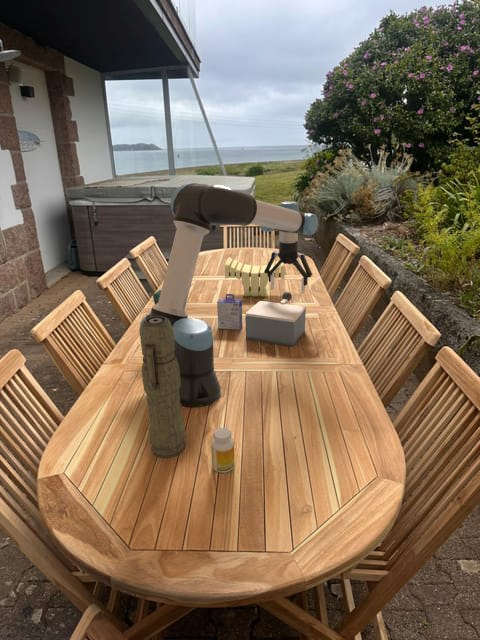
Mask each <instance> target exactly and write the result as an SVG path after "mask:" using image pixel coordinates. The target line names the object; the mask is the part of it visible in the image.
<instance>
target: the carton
mask: <svg viewBox="0 0 480 640" xmlns="http://www.w3.org/2000/svg"><path fill="white" fill-rule="evenodd" d="M306 312H307V309H305V310H304V312H303V313H302V314H301V315H300V316H299V318H298V319H297V320H296V321H295V322H287V321H280V320H273V319H266V318H259V317H252V316H245V317H244V318H245V340H250V341H256V342H262V343H267V344H268V343H269V344H273V345H275V344H276V345H279V346H280V345H281V346H287V347H291V348H292V347H293V348H294V347H295V345H296V344H297V343H298V341H299V340H300V339H301V337H303V335H304V333H305V332H306V314H307V313H306Z"/></svg>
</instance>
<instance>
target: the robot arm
mask: <svg viewBox="0 0 480 640" xmlns="http://www.w3.org/2000/svg"><path fill="white" fill-rule="evenodd" d="M299 208H300V207H299V203H298V201H282V202H280V203H279V205H276V204H272V203H268V202H265V201H262V200H259V199H256V198H255V197H254V196H253V195H252V194H250V193H247V192H243V191H241V190H237V189H234V188H231V187H229V186H226V185H223V184H210V183H197V182H192V183H185V184H182V185H181V186H178V187H177V188H176V189H175V191H174V192H173V194H172V196H171V200H170V209H171V213H172V215H173V217H174V218H173V224H174V226H175V229H176V230H175V235H174V238H173V243H172V247H171V251H170V255H169V258H168V262H167V266H166V271H165V274H164V278H163V282H162V287H161V289H160V290H161V294H160V298H159V302H158V303H157V304H156V305H155V304H154V305H152V307H151V310H150V312H148V313H147V314H146V315H145V316H143V318H142V319H141V322H140V323H139V329H138V331H139V332H138V333H139V335H140V331H141V326H142V322H143V321H144V320H146V319H148V318H150V317H155V316H161V317H165V318H167V319H169V321H170V323H171V325H172V328H173V331H174V342H175V351H174V352H175V355H176V360H177V362H178V364H179V370H180V382H181V386H180V389H179V394H180V406H182V407H183V406H184V407H189V408H196V407H197V408H198V407H203V406H206V405H207V406H208V405H210V404H213V403H214V402H216V401H217V400H218V399H219V398H220V396H221V383H220V382H219V378H218V377H217V374H216V371H215V366H214V365H215V362H214V361H215V359H214V358H215V357H214V335H213V330H212V326H211V325H210V324H209V323H207V322H206V321H204V320H203V319H198V318H191V317H189V314H188V313H187V311H186V305H187V303H188V298H189V294H190V291H191V287H192V283H193V278H194V274H195V271H196V266H197V262H198V259H199V256H200V255H199V254H200V251H201V248H202V243H203V239H204V236H206V235H208V234H209V233H210V231H211V228H212V226H213V225H214V226H215V225H217V226H223V225H224V226H228V225H231V226H243V227H247V226H249V225H254V226H258V227H259V229H260V230H261V231H263V232H265V233H271V232H273V231H274V232H278V234H279V235H278V236H279V237H278V238H279V242H278V244H279V245H278V252H277V251H275V250H274V251H272V252H271V256H270V259H269V261H268V263H267V264H266V265H267V267H266V269H265V271H264V273H267V274H268V275H269V277H268V282H269V283H270V291H273V290H274V289H275V277H274V274H272V273H273V272H274V273H275V270H276V269H277V268H278V266H279V267H280V266H281V263H284V264H285V265H287V264H288V265H293V266H294V267H295V268H296V270H298V272H299V274H300V275H301V276H302V278H301V289H300V290H301V291H300V293H301V294H304V293H305V292H306V286H307V285H308V281H309V279H308V278H311V277H312V276H313V273H312V271H311V268H310V265H309V263H308V261H307V259H306V253H304V252H303V253H298V251H299V250H298V246H299V242H298V239H299V235H304V236H306V235H307V236H312V235H314V234H315V233H316V232H317V230H318V226H319V219H318V216H317V215H316V214H314V213H310V212H302V211H300V210H299ZM277 257H278V258H279V259H278V260H277V261H278V263H277V264H276V263H275V262H274V261H275V260H276V258H277ZM298 258H299V260H300V261H298ZM299 262H301V264H302V265H301V264H300V263H299ZM273 263H275V264H274V267H273V268H272V269H271V270H270V268H271V266H272V264H273Z"/></svg>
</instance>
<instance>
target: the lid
mask: <svg viewBox="0 0 480 640" xmlns="http://www.w3.org/2000/svg"><path fill="white" fill-rule="evenodd" d="M281 297H282V300H280V302H272V301H266V300H259V301H258V302H256V304H255V305H253V306H252V307H251V308H250V309H248V310H247V311H246V312H245V316H252V317H259V318H266V319H273V320H280V321H287V322H295V321H296V320H297V319H298V318H299V316H300V315H301V314H302V313H303V312H304V310H305V309H306V308H307V306H305V305H297V304H290V303H289V304H288V303H287V302H289V301H291V300H292V297H293V296H292V293H291V292H289V291H284V292H283V294H282V296H281ZM306 310H307V309H306Z"/></svg>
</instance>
